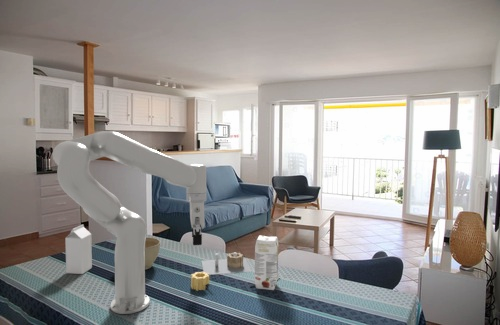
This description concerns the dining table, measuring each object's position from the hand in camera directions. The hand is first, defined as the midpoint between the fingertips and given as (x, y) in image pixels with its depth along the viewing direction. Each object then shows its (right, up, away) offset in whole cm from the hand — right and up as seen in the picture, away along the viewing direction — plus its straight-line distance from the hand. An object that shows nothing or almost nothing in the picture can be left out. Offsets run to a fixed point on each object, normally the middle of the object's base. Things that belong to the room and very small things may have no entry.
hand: (196, 240), depth 130 cm
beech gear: (+14, -15, +17) cm, 27 cm away
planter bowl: (-27, -16, +18) cm, 36 cm away
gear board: (+10, -16, +16) cm, 25 cm away
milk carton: (-51, -16, +13) cm, 55 cm away
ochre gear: (+1, -17, -1) cm, 17 cm away
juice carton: (+27, -18, +1) cm, 32 cm away
